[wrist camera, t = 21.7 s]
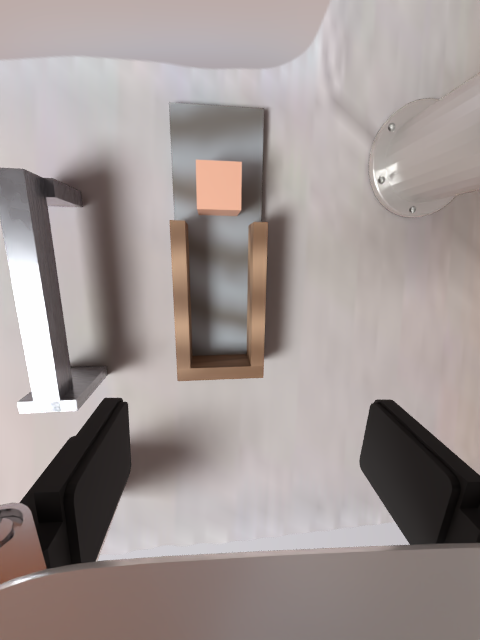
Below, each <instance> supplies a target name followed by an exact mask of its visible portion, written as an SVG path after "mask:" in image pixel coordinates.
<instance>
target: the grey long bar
mask: <svg viewBox="0 0 480 640" xmlns="http://www.w3.org/2000/svg"><path fill="white" fill-rule="evenodd" d="M48 206H59V207H83V206H82V198H81V192H80V191H78V190H76V189H74V188H72V187H70V186H68V185H66V184H63V183H61V182H59V181H57V180H55V179H53V178H42V177H40V176H38V175H36V174H33V173H31V172H29V171H27V170H25V169H15V168H0V221H1V226H2V232H3V237H4V243H5V248H6V253H7V259H8V264H9V270H10V275H11V281H12V286H13V292H14V297H15V302H16V308H17V313H18V319H19V324H20V330H21V335H22V341H23V346H24V352H25V357H26V362H27V368H28V373H29V379H30V384H31V390H32V391H31V392H30V393H29V394H27V395H26V396H25V397H24V398H22V399H21V400H20V401H18V402H17V404H18V409H19V413H40V412H62V411H78V409H79V408H80V407H81V406H82V405H83V404H84V402H85V401H86V400H87V399H88V398H89V396H90V395H91V394H92V393H93V392H94V390H95V389H96V388H97V387H98V386H99V384H100V383H101V382H102V381H103V380H104V379H105V377H106V376H107V375H108V374H107V366H100V367H70V360H69V353H68V346H67V339H66V332H65V325H64V318H63V311H62V304H61V297H60V290H59V283H58V276H57V269H56V262H55V255H54V248H53V241H52V234H51V227H50V220H49V213H48Z"/></svg>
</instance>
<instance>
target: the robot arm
mask: <svg viewBox="0 0 480 640" xmlns="http://www.w3.org/2000/svg"><path fill="white" fill-rule="evenodd" d="M369 177H370V182H371V186H372V189H373V191H374V193H375V195H376V197H377V199H378V200H379V201H380V203H381V204H382V205H383V206H384V207H385V208H386V209H387V210H389V211H391V212H392V213H394V214H396V215H399V216H402V217H411V218H413V217H421V216H425V215H429V214H432V213H434V212H436V211H439V210H440V209H442V208H443V207H445V206H446V205H447V204H449V203H450V202H451V201H452V200H453V199H454V198H455V196H456V195H459V194H463V193H467V192H472V191H476V190H480V73H478V74H477V75H476V76H474V77H473V78H471V79H470V80H468V81H467V82H465V83H464V84H462V85H461V86H459V87H458V88H456V89H455V90H453V91H452V92H450V93H449V94H447V95H446V96H444V97H443V98H441V99H440V100H439V99H431V98H428V99H419V100H417V101H414V102H411V103H409V104H407V105H405V106H404V107H402V108H400V109H399V110H398V111H397V112H395V113H394V114H393V115H392V116H391V117H390V118H389V119H388V120H387V121H386V122H385V123H384V124H383V126H382V127H381V129H380V130H379V132H378V133H377V136H376V138H375V140H374V142H373V145H372V149H371V153H370V159H369ZM378 181H379V182H378ZM360 467H361V470H362V472H363V473H364V475H365V476H366V478H367V479H368V481H369V482H370V484H371V485H372V487H373V488H374V490H375V492H376V493H377V495H378V496H379V498H380V499H381V501H382V502H383V504H384V505H385V507H386V508H387V510H388V512H389V513H390V515H391V516H392V518H393V519H394V521H395V522H396V524H397V525H398V527H399V528H400V530H401V532H402V533H403V535H404V536H405V538H406V539H407V541H408V542H409V544H410V545H393V546H369V547H345V548H322V549H301V550H279V551H278V550H277V551H256V552H238V553H218V554H199V555H182V556H181V555H180V556H162V557H148V558H134V559H120V560H106V561H97V562H96V559H97V557H98V554H99V552H100V549H101V546H102V544H103V541H104V539H105V536H106V533H107V531H108V528H109V526H110V523H111V521H112V518H113V515H114V513H115V510H116V508H117V505H118V502H119V500H120V497H121V495H122V492H123V490H124V487H125V484H126V482H127V479H128V477H129V474H130V469H131V453H130V434H129V415H128V403H127V402H123V400H122V398H104V399H103V400H102V402H101V403H100V404H99V406H98V407H97V408H96V410H95V411H94V412H93V414H92V415H91V416H90V418H89V419H88V420H87V422H86V423H85V424H84V426H83V427H82V428H81V430H80V431H79V432H78V434H77V435H76V436H73V437H71V438H70V439H69V440H68V441H67V442H66V443H65V445H64V446H63V447H62V449H61V450H60V451H59V453H58V454H57V455H56V456H55V458H54V459H53V460H52V462H51V463H50V464H49V465H48V467H47V468H46V469H45V471H44V472H43V473H42V474H41V476H40V477H39V478H38V480H37V481H36V482H35V483H34V485H33V486H32V487H31V489H30V490H29V491H28V493H27V494H26V495H25V496H24V498H23V499H22V500H21V502H20V503H9V504H3V505H0V640H480V475H479V474H477V473H476V472H475V471H474V470H473V469H472V468H470V467H469V466H468V465H467V464H466V463H465V462H464V461H462V460H461V459H460V458H459V457H458V456H457V455H455V454H454V453H453V452H452V451H451V450H450V449H449V448H447V447H446V446H445V445H444V444H443V443H442V442H440V441H439V440H438V439H437V438H436V437H435V436H434V435H432V434H431V433H430V432H429V431H428V430H427V429H425V428H424V427H423V426H422V425H421V424H420V423H419V422H417V421H416V420H415V419H414V418H413V417H412V416H410V415H409V414H408V413H407V412H406V411H405V410H404V409H402V408H401V407H400V406H399V405H398V404H397V403H395V402H394V401H393V400H375V402H374V403H373V404H371V406H370V409H369V415H368V420H367V425H366V430H365V435H364V440H363V445H362V450H361V455H360Z"/></svg>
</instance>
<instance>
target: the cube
mask: <svg viewBox="0 0 480 640" xmlns="http://www.w3.org/2000/svg"><path fill="white" fill-rule="evenodd" d="M241 187H242V162H236V161H215V160H196V192H197V211H198V214H199V215H215V216H237V215H238V214H239V213H240V211H241Z"/></svg>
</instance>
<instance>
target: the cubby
mask: <svg viewBox="0 0 480 640" xmlns="http://www.w3.org/2000/svg"><path fill="white" fill-rule="evenodd" d="M169 112H170V134H171V156H172V178H173V199H174V220H170V237H171V258H172V278H173V298H174V318H175V338H176V358H177V378H178V381H192V380H217V379H242V378H263V370H264V337H265V305H266V272H267V239H268V222H261V209H262V169H263V128H264V108H248V107H233V106H217V105H202V104H187V103H171V102H169ZM196 160H215V161H236V162H242V187H241V211H240V213H239V214H238V215H237V216H215V215H199V214H198V211H197V192H196Z"/></svg>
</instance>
